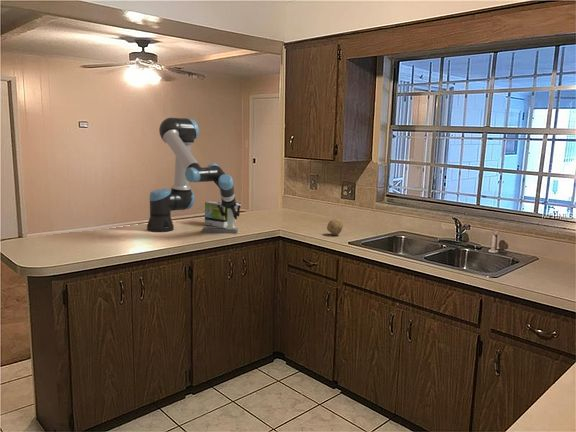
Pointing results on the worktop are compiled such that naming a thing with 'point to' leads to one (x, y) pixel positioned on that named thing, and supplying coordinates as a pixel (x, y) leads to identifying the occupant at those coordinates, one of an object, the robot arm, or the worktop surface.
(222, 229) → the fader console
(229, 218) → the fader tab
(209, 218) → the tea box
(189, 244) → the worktop surface
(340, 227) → the natural sponge
